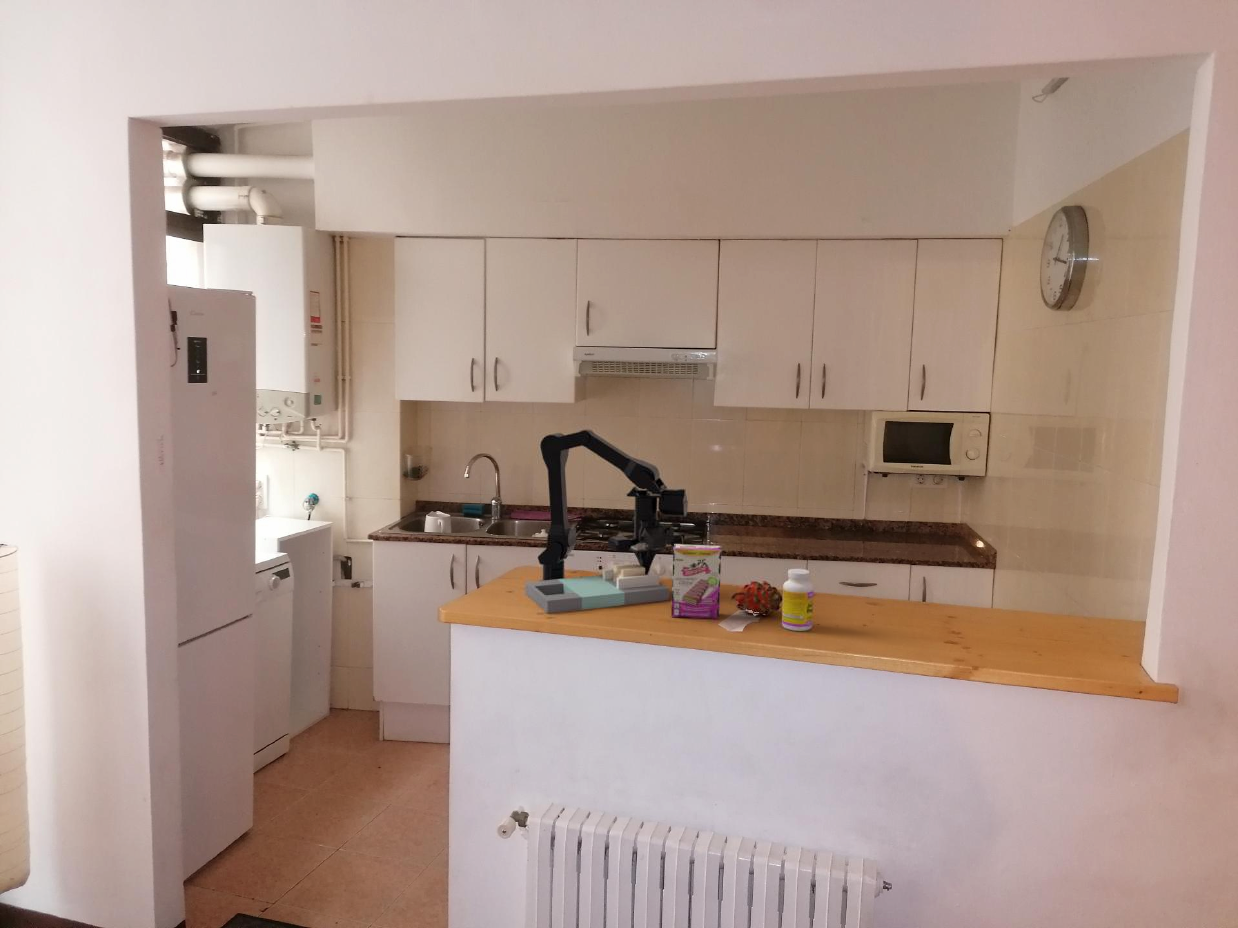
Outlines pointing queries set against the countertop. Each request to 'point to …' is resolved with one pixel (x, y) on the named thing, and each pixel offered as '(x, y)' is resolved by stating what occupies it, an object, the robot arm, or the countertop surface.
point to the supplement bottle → (797, 601)
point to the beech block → (628, 570)
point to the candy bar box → (696, 581)
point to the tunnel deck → (595, 591)
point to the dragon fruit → (758, 598)
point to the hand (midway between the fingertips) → (645, 574)
